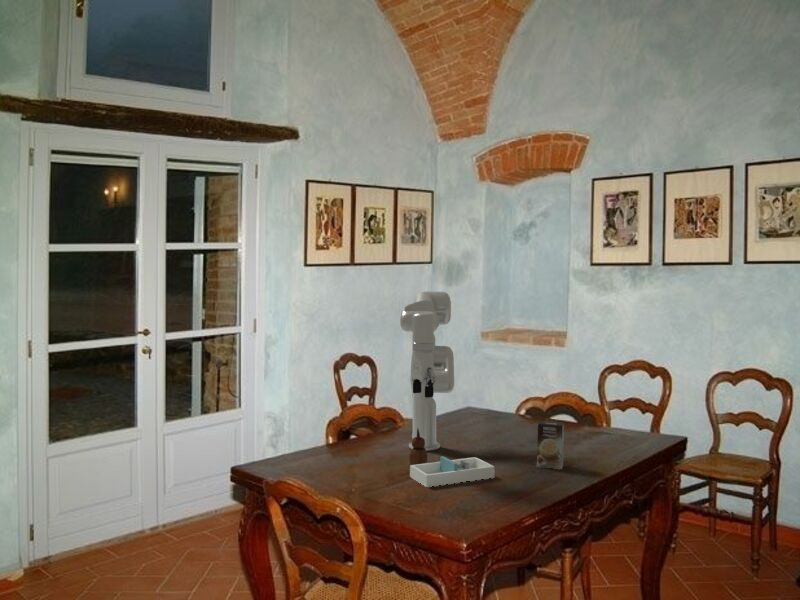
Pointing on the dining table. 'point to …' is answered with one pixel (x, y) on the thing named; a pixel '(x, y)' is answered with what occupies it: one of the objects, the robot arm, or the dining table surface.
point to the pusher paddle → (452, 465)
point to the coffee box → (550, 444)
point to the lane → (451, 472)
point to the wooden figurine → (418, 451)
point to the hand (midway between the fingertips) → (422, 395)
